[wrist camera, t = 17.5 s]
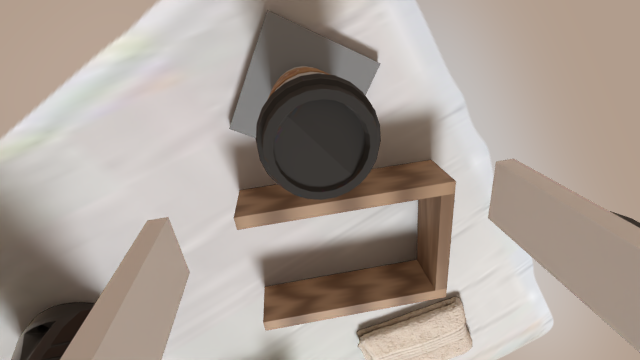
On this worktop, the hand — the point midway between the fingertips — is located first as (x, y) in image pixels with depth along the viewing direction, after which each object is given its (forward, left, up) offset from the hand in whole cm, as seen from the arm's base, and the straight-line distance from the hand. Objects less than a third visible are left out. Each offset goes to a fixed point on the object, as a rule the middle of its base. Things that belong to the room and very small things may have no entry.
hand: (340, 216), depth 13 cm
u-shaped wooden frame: (+11, -15, -24) cm, 30 cm away
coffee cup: (0, 0, -23) cm, 23 cm away
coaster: (0, 0, -24) cm, 24 cm away
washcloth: (+32, -30, -25) cm, 50 cm away
